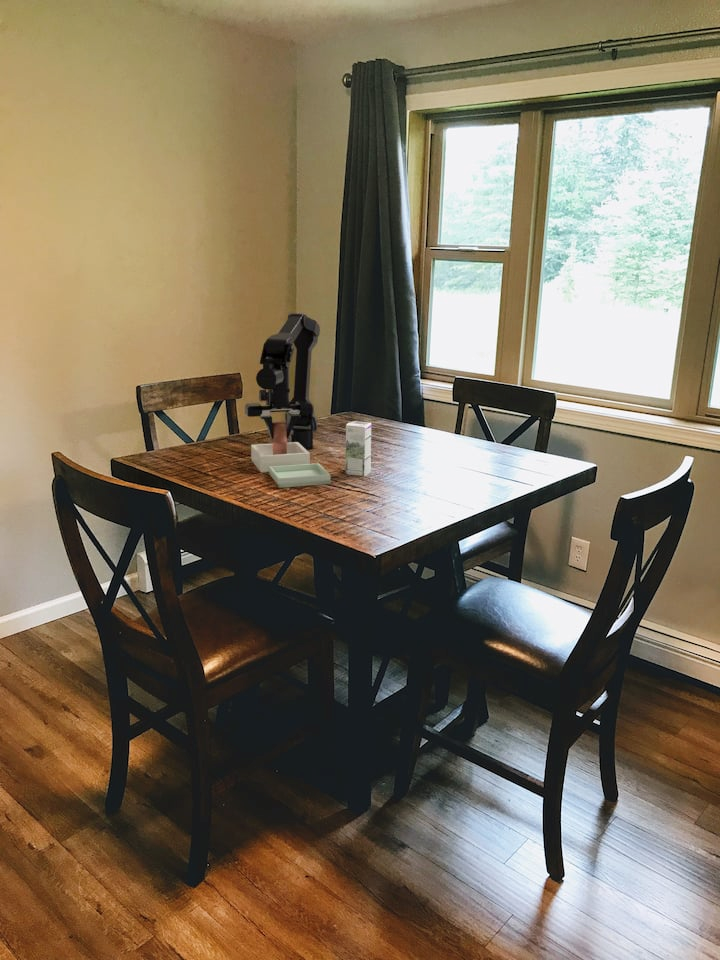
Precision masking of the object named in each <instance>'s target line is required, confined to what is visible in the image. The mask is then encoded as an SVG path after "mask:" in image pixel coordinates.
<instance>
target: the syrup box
mask: <svg viewBox="0 0 720 960" xmlns="http://www.w3.org/2000/svg"><path fill="white" fill-rule="evenodd" d="M371 450H372V422H368V421H367V422H365V421H356V420H355V421H353V420H351V421H349V422H348V423H347V424H345V475H351V476H359V477H367V476H368V475H369V474H370V473H371V469H372V468H371V467H372V466H371V465H372V464H371V461H372V459H371V457H372V455H371V452H372V451H371Z"/></svg>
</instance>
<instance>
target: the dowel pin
mask: <svg viewBox="0 0 720 960" xmlns="http://www.w3.org/2000/svg"><path fill="white" fill-rule="evenodd" d="M272 423H273V439H272V444H273V455H278V454H287V443H288V440H287V439H288V438H287V423H286V421H272Z"/></svg>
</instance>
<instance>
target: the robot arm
mask: <svg viewBox="0 0 720 960" xmlns="http://www.w3.org/2000/svg"><path fill="white" fill-rule="evenodd" d="M320 334H321V328H320V324H319V323H318V322H317V321H316V320H314V319H313V318H310V317H308V316H307V314H305V313H298V312H295V313H289V314H288V316H287V319H286V321H285V323H284V324H283V326H281V328H280V330H279V332H278V333H276V334H275V333H274V334H272V335H270V336H269V337H268V338H266V340H265V342H264V343H263V347H262V350H261V354H260V355H261V356H260V360H259V364H260V365H262V368H261V369H260V370H258V371H257V373H256V376H255V380H256V383H257V385H258V386H259V387H260V389H259V390H258V399H259V402H262V403H263V402H265V405H261V403H259V402H249V403H246V404H245V405H244V414H245V415H246V416H247V417H252V418H253V417H259V418H260V419H261V420H263V422H264V423H265V425H266V428H267V431H268V435H269V436H270V439H271V440H273V417H272V416H271V413H281V412H282V413H284V412H285V415H284V417H285V419H284V420H285V422H286V423H287V439H289V442H298V443H300V444H301V445H302V446H303V447H304V448H305V449H306V450H307V451H308V450H315V447H314V432H316V431H318V420H317V418H316V415H315V413H314V411H315V409H314V405H313V403H312V402H311V400H310V398H309V397H310V381H311V367H312V366H311V364H312V351H313V350H314V348H315V347H316V345H317V344H318V340H319V337H320ZM294 347H295V348H294ZM295 349H296V353H295ZM294 353H295V354H296V355H295V367H294V369H295V370H294V385H293V397H292V398H291V400H290V392H291V389H290V365H291V362H292V360H293V356H294Z"/></svg>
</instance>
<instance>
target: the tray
mask: <svg viewBox="0 0 720 960" xmlns="http://www.w3.org/2000/svg"><path fill="white" fill-rule="evenodd" d="M268 473H269V475H270V477H271V478H272V479H273V480H274V482H275V483H276V485H277V488H279V489H280V488H282V489H283V488H291V487H292V488H293V487H294V488H295V487H304V486H307V487H309V486H317V485H330V484H331V477H332V476H331V473H329V472H328V471H327V470H326V469H325V468H324V467H323V466H322V465H321V464H320V463H318V462H317V463H310V464H301V465H287V466H272V467H269V472H268Z"/></svg>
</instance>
